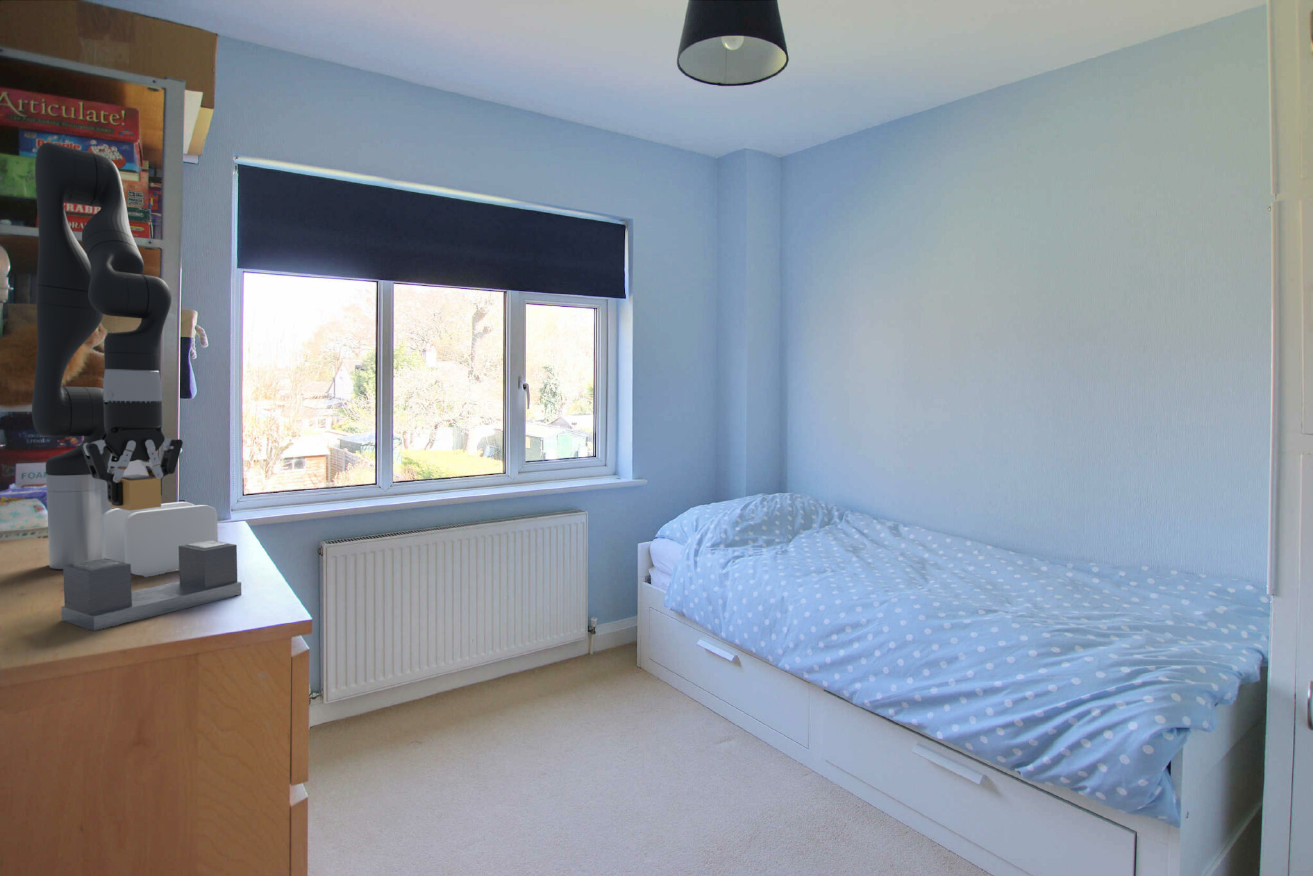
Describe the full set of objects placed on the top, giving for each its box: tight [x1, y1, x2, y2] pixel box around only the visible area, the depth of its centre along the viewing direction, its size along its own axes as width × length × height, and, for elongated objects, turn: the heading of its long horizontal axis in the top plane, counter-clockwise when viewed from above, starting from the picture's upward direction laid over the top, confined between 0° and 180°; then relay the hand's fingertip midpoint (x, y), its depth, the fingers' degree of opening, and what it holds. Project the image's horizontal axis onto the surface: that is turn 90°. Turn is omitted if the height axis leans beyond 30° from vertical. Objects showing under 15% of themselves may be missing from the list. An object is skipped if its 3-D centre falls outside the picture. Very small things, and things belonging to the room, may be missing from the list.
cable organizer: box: [101, 501, 219, 578], centre depth 126 cm, size 15×11×12 cm
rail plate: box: [60, 540, 242, 632], centre depth 103 cm, size 9×20×8 cm, turn 153°
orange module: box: [110, 473, 162, 511], centre depth 112 cm, size 6×4×5 cm
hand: (135, 502), depth 112 cm, fingers closed on orange module, 4 cm apart
